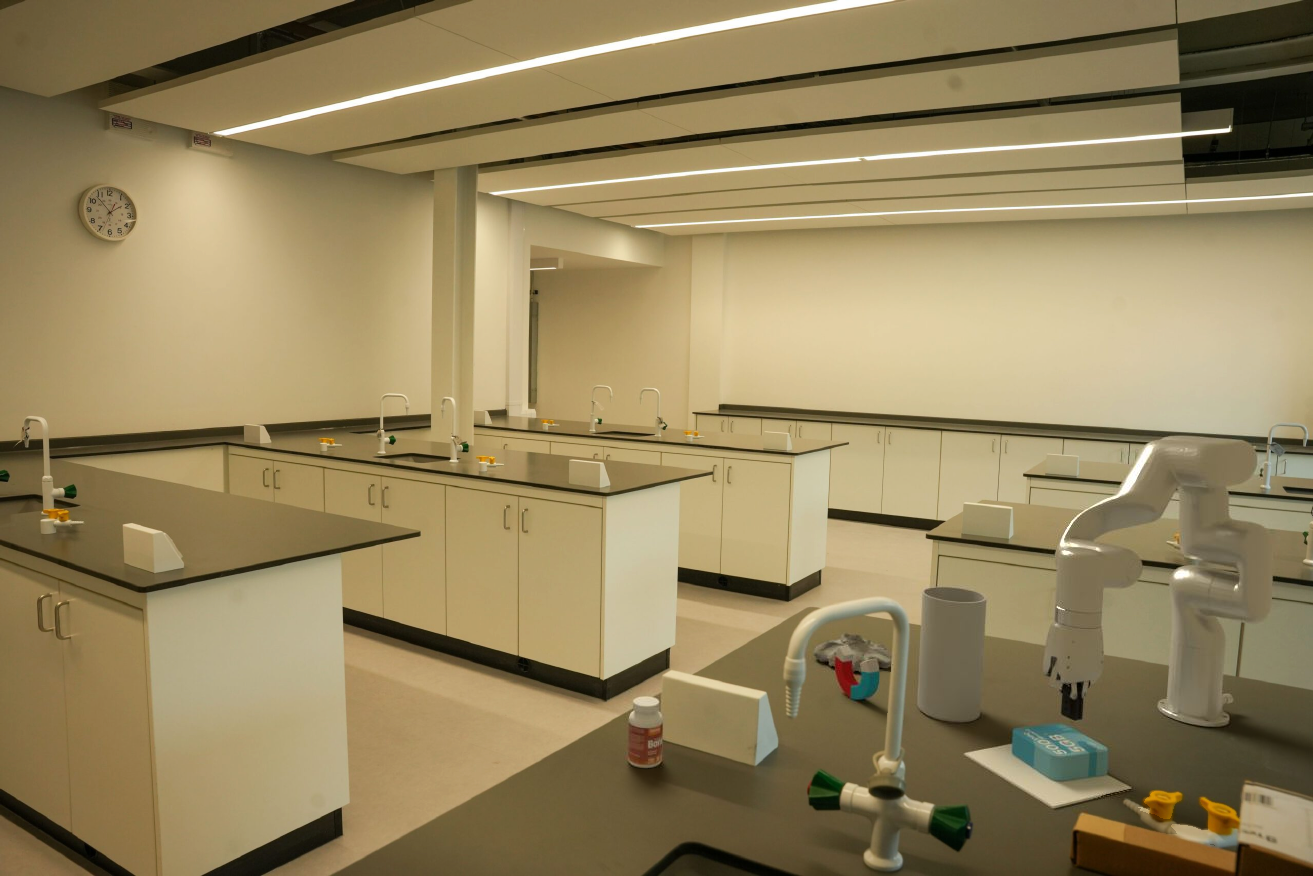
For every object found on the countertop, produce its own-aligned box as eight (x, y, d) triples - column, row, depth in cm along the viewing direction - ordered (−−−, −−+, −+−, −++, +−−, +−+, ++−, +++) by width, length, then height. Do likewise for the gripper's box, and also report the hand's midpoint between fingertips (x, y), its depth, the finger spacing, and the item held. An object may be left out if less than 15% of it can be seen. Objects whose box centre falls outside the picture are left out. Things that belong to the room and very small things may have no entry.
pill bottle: (651, 772, 143) (652, 711, 142) (621, 764, 146) (622, 703, 145) (668, 758, 148) (669, 699, 148) (639, 750, 152) (640, 692, 151)
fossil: (857, 632, 213) (887, 616, 201) (876, 673, 210) (907, 660, 197) (801, 651, 206) (829, 636, 194) (819, 694, 203) (849, 682, 190)
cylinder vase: (916, 718, 168) (922, 598, 166) (917, 696, 180) (922, 584, 178) (982, 728, 164) (988, 605, 162) (978, 704, 176) (984, 590, 174)
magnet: (878, 706, 174) (880, 660, 173) (868, 708, 173) (870, 662, 172) (843, 687, 185) (844, 643, 184) (833, 688, 183) (835, 645, 183)
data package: (1113, 750, 144) (1056, 757, 141) (1111, 775, 145) (1054, 783, 141) (1062, 722, 156) (1008, 728, 153) (1061, 745, 156) (1007, 752, 153)
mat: (1036, 740, 159) (1037, 738, 159) (1131, 789, 140) (1131, 787, 140) (964, 755, 152) (964, 753, 152) (1052, 808, 134) (1053, 806, 134)
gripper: (1089, 608, 153) (1083, 704, 154) (1029, 615, 147) (1023, 715, 148) (1126, 619, 146) (1119, 719, 147) (1064, 627, 140) (1058, 732, 141)
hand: (1071, 717), depth 148 cm, fingers closed
